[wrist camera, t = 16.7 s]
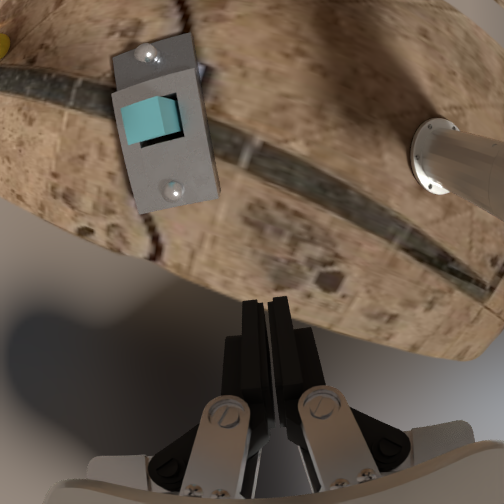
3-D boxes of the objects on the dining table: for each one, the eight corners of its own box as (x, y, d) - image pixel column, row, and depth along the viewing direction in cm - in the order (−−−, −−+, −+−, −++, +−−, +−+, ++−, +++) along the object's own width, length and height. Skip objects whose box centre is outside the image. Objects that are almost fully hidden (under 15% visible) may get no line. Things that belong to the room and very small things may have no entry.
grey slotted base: (193, 36, 26) (186, 25, 22) (220, 190, 36) (217, 200, 32) (118, 59, 27) (102, 53, 22) (148, 204, 37) (136, 217, 32)
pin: (179, 101, 30) (157, 95, 22) (185, 129, 32) (165, 134, 23) (150, 109, 31) (120, 108, 22) (156, 137, 32) (128, 145, 24)
